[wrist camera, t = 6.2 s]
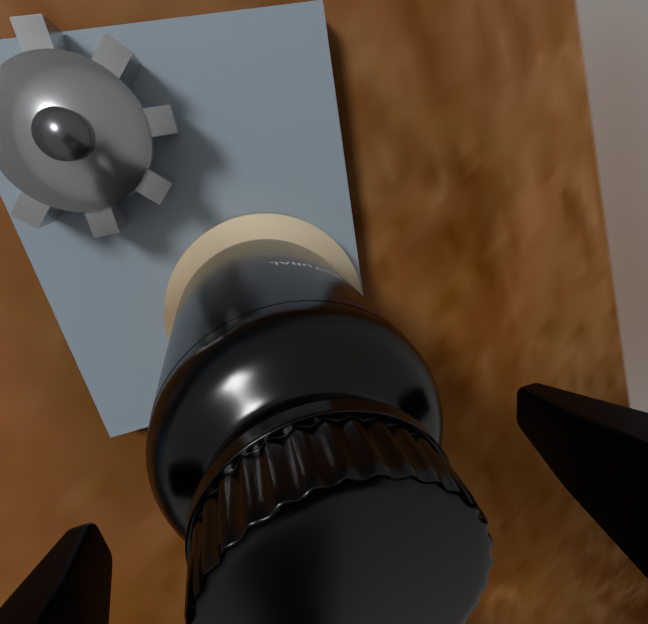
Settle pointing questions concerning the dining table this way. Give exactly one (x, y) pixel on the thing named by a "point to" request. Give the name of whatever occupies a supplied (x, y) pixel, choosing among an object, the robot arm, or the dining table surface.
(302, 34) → the gear board
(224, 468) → the supplement bottle
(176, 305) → the hub pad
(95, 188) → the gear
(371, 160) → the dining table surface
